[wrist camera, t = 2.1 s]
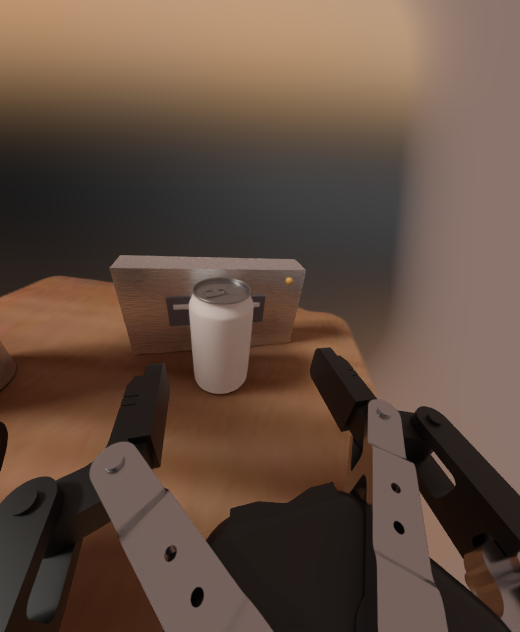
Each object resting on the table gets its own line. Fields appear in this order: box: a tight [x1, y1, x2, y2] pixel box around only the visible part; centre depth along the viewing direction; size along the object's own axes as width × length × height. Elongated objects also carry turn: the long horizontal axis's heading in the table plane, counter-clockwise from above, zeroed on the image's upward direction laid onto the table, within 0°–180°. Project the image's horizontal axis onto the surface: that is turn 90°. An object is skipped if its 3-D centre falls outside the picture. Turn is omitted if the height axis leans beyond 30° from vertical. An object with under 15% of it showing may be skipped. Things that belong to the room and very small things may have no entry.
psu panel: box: [110, 255, 306, 355], centre depth 30 cm, size 22×4×12 cm, turn 103°
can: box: [189, 277, 254, 394], centre depth 25 cm, size 6×6×12 cm
